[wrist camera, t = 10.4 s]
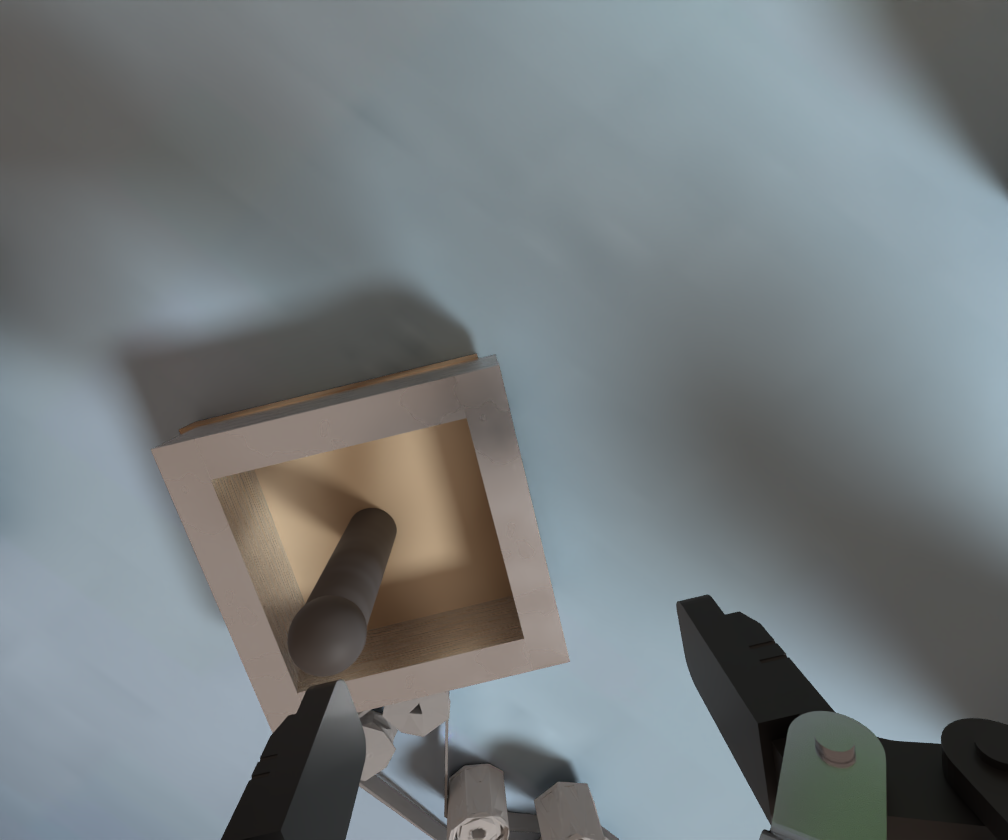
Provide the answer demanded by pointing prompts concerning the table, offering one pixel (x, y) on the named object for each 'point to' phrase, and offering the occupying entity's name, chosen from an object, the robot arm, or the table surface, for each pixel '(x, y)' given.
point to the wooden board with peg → (381, 533)
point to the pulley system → (470, 786)
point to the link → (270, 579)
